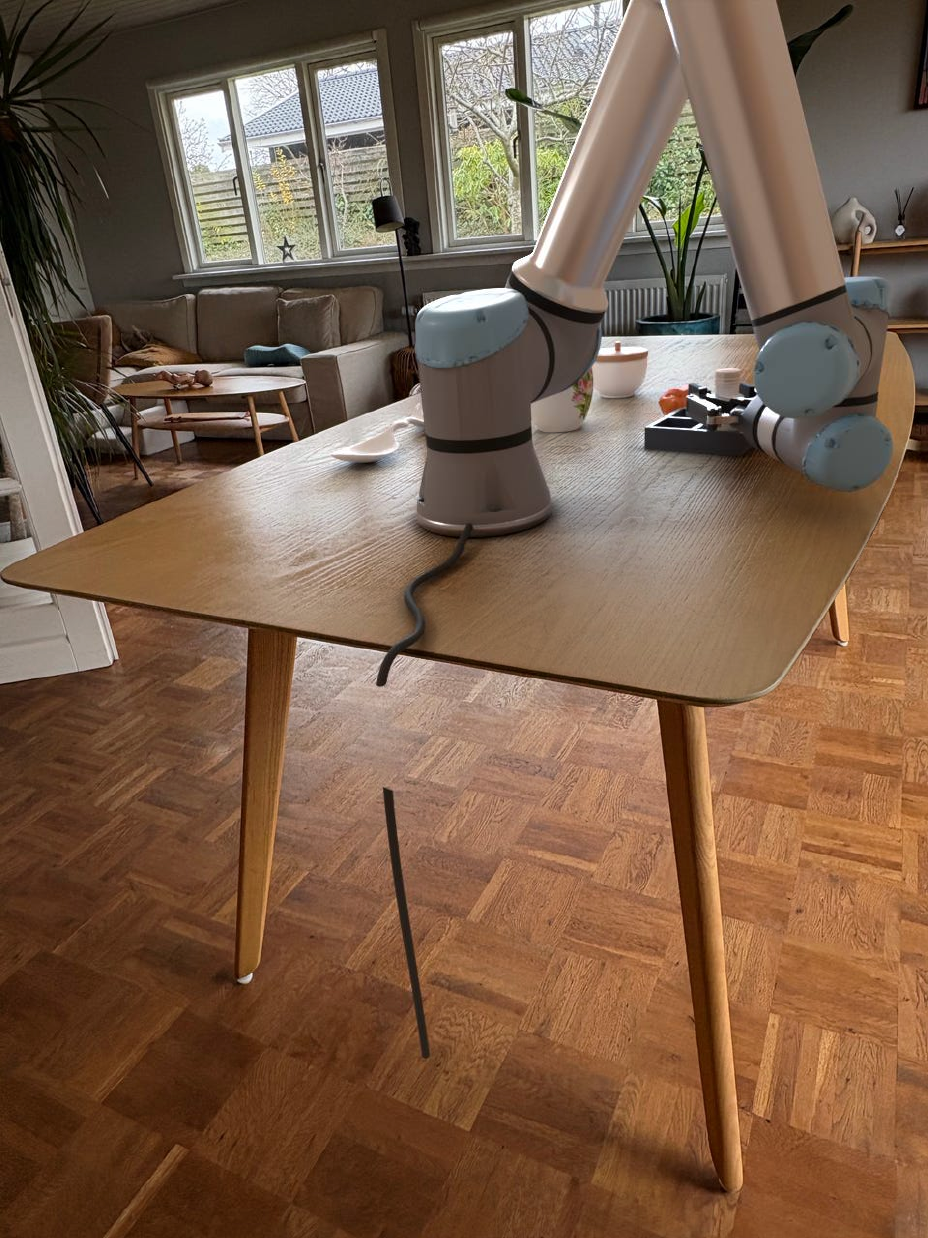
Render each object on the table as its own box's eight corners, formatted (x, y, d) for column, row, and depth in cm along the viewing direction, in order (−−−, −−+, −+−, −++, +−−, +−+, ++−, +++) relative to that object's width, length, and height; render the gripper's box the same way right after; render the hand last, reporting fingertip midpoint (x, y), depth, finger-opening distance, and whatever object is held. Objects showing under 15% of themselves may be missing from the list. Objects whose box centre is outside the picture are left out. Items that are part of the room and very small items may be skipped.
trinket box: (578, 394, 152) (577, 342, 148) (629, 387, 154) (630, 335, 150) (604, 403, 142) (603, 348, 138) (658, 395, 145) (659, 340, 141)
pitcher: (614, 415, 133) (614, 327, 127) (570, 441, 120) (567, 344, 114) (554, 412, 139) (551, 328, 133) (504, 437, 125) (499, 345, 119)
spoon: (466, 421, 138) (464, 400, 137) (375, 473, 112) (371, 448, 111) (419, 420, 142) (417, 400, 141) (320, 471, 116) (316, 447, 115)
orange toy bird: (685, 373, 131) (656, 387, 122) (728, 389, 128) (701, 405, 119) (675, 402, 133) (645, 418, 125) (716, 419, 131) (689, 436, 122)
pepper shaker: (742, 439, 110) (747, 367, 106) (734, 446, 107) (739, 372, 103) (713, 438, 112) (717, 367, 108) (704, 445, 109) (708, 372, 105)
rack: (740, 456, 105) (742, 433, 104) (643, 449, 112) (644, 427, 111) (770, 433, 115) (772, 411, 113) (680, 427, 122) (680, 406, 121)
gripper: (706, 467, 92) (646, 425, 113) (861, 450, 92) (773, 411, 113) (709, 399, 88) (647, 369, 109) (870, 383, 89) (778, 356, 110)
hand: (711, 391), depth 111 cm, fingers closed on pepper shaker, 5 cm apart
